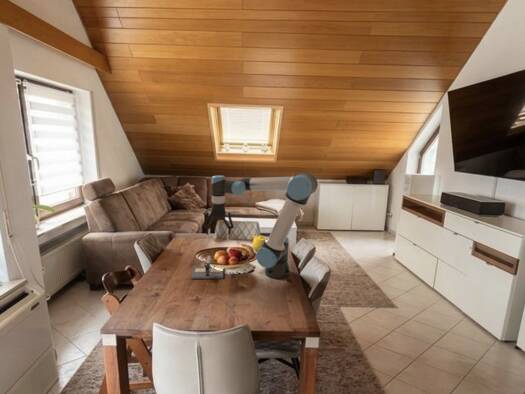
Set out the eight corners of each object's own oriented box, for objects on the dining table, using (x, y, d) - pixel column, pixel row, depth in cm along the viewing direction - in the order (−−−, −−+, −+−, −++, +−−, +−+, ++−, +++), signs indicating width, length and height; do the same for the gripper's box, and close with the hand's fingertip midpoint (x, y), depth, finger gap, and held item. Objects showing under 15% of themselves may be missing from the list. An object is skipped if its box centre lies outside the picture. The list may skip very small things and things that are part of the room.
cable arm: (211, 259, 186) (211, 255, 186) (209, 268, 173) (209, 265, 172) (206, 259, 186) (206, 256, 185) (204, 268, 173) (204, 265, 172)
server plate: (224, 268, 188) (224, 259, 187) (223, 278, 174) (222, 269, 173) (194, 268, 186) (194, 260, 185) (190, 278, 173) (190, 269, 172)
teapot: (275, 252, 216) (276, 237, 214) (263, 256, 209) (264, 241, 207) (259, 245, 229) (259, 231, 227) (247, 248, 222) (247, 234, 220)
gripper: (238, 201, 180) (237, 237, 184) (199, 201, 178) (199, 237, 182) (238, 204, 173) (237, 241, 177) (197, 203, 171) (198, 241, 175)
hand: (218, 239), depth 180 cm, fingers open, 10 cm apart
